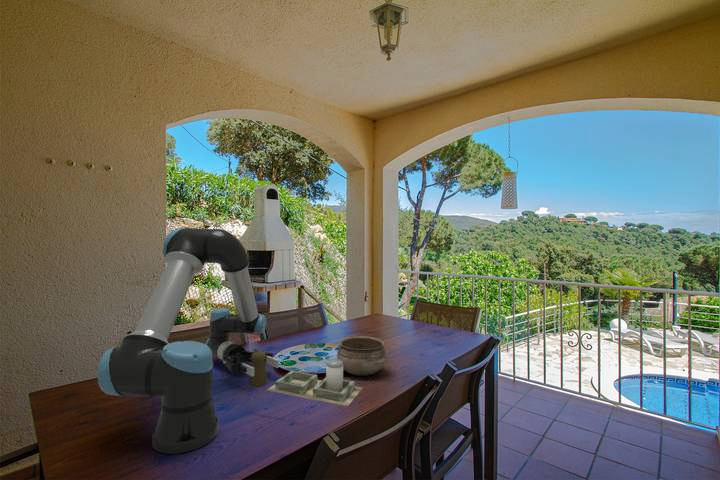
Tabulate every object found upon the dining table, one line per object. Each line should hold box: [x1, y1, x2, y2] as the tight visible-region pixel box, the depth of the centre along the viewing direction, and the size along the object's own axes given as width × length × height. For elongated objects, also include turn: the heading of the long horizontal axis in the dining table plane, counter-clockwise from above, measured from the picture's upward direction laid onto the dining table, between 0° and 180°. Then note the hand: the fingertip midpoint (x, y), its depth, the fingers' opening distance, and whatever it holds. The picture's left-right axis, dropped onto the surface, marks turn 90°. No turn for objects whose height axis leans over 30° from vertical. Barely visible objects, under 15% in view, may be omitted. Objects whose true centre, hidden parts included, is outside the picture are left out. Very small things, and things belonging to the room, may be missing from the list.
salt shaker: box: [325, 358, 344, 392], centre depth 112 cm, size 6×6×10 cm
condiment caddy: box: [265, 370, 363, 408], centre depth 114 cm, size 14×29×4 cm, turn 70°
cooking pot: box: [336, 335, 388, 377], centre depth 131 cm, size 25×19×12 cm
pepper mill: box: [249, 350, 268, 388], centre depth 121 cm, size 6×6×11 cm
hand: (266, 368), depth 118 cm, fingers open, 9 cm apart
